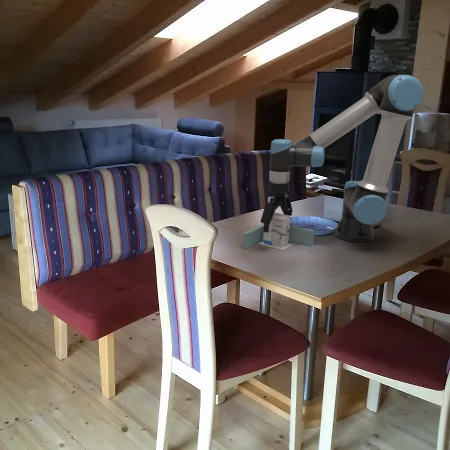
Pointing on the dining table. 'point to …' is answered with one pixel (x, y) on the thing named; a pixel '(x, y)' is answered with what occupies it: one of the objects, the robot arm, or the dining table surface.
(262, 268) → the dining table surface
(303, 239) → the teal angle bracket
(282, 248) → the pad
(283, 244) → the ink box
